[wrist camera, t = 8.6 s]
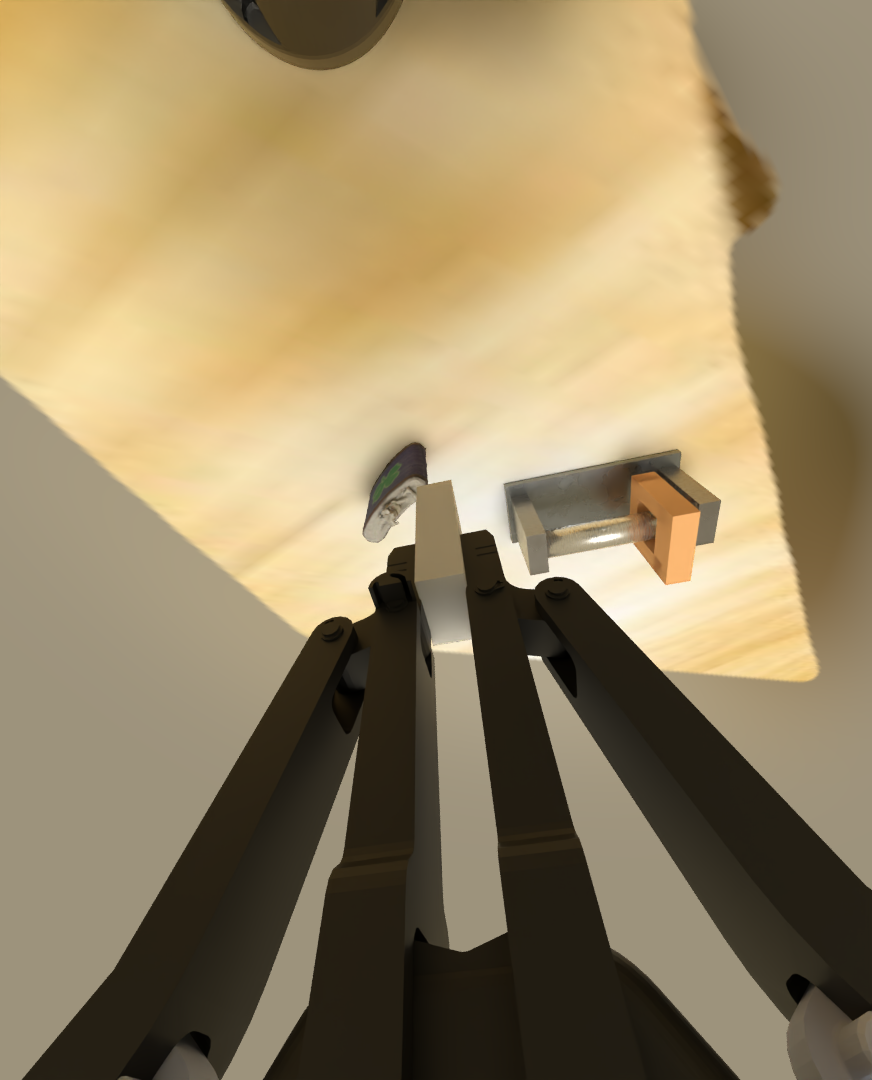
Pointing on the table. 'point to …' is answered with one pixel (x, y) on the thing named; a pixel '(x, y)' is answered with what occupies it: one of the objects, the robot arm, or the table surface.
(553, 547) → the pipe rail
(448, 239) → the table surface
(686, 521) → the orange square ring
